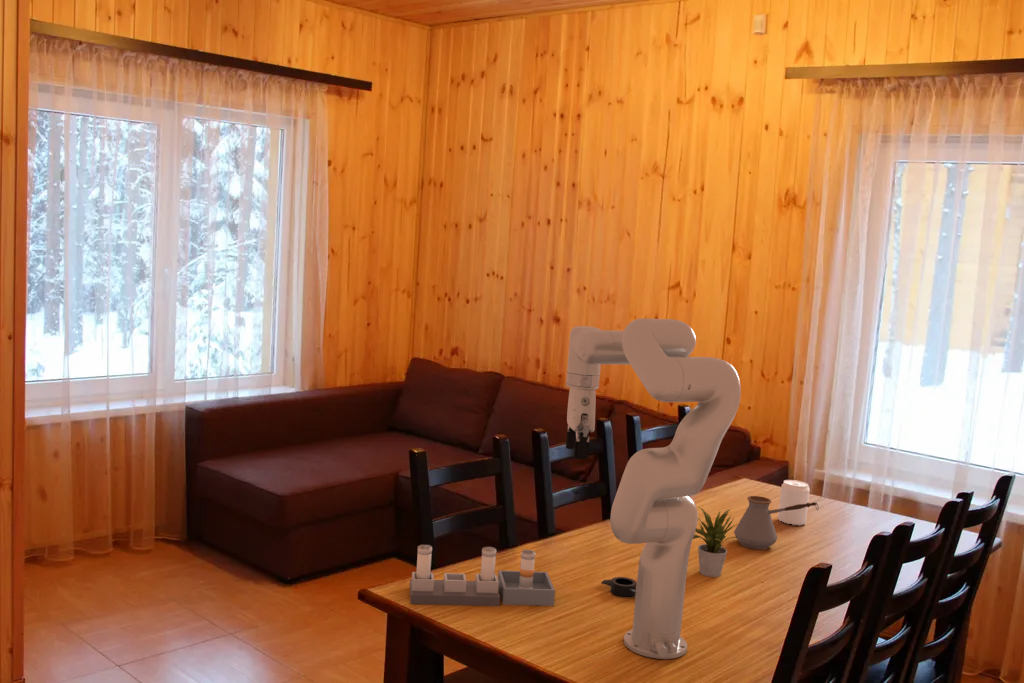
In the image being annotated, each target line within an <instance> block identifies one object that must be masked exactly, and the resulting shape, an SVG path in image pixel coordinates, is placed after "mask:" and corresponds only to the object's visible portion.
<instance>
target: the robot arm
mask: <svg viewBox="0 0 1024 683" xmlns="http://www.w3.org/2000/svg"><path fill="white" fill-rule="evenodd" d="M568 342H569V344H568V358H567V369H566V379H565V380H566V381H565V386H566V387H567V388H569V391H568V402H567V412H566V415H567V416H566V423H567V432H566V439H565V440H566V442H565V449H567V450H573V459H574V460H583V461H584V460H585V461H586V460H588V458H589V449H590V433H593V432H595V427H596V426H595V425H596V399H597V398H596V394H597V393H596V390H599V389H600V388H599V387H600V377H601V365H625V366H627V365H630V367H631V369H632V370H633V371H634V373H635V374H636V376H637V377H638V379H639V380H640V382H641V384H642V385H643V387H644V388H645V390H646V391H647V392H648V394H649V395H650V397H652V398H653V399H654V400H657V401H659V402H662V403H694V402H695V403H697V404H696V406H695V407H693V408H692V409H691V410H690V411H689V412H688V413H686V415H685V416H684V417H683V418H682V419H681V421H680V423H679V424H678V426H677V428H676V430H675V433H674V437H673V439H672V441H671V443H670V444H669V445H667V446H665V447H648V448H644V449H640V450H638V451H637V452H635V453H634V454H633V455H632V456H631V457H630V458H629V460H628V461H627V463H626V465H625V469H624V471H623V474H622V476H621V478H620V479H621V480H620V482H619V485H618V487H617V491H616V493H615V495H614V496H615V497H614V500H613V503H612V506H611V510H610V519H609V520H610V522H609V523H610V528H611V532H612V534H613V535H614V538H616V539H617V540H618V541H620V542H621V543H624V544H629V545H630V544H631V545H635V544H638V545H639V544H644V546H643V549H642V550H641V553H640V556H639V560H638V567H637V568H638V569H637V579H636V580H637V581H636V582H637V586H636V595H635V600H634V601H635V602H634V612H633V621H632V622H633V623H632V629H630V630H628V631H627V632H626V633H625V634H624V636H623V644H624V646H626V648H628V649H629V650H630V651H631V652H633V653H635V654H637V655H641V656H643V657H647V658H651V659H658V660H671V659H677V658H679V657H682V656H684V655H685V654H686V653H687V652H688V643H687V641H686V640H685V639H684V638H683V637H682V636H681V631H682V621H683V620H682V619H683V612H684V603H685V594H686V585H687V584H686V583H687V575H688V565H689V558H690V557H689V556H690V551H691V548H692V543H693V540H694V539H693V537H694V535H695V534H696V532H695V530H696V528H697V526H698V521H699V519H698V518H699V515H698V514H699V513H698V507H697V506H696V503H695V502H694V500H693V499H692V498H691V497H690V496H694V495H697V494H698V493H699V492H700V491H701V490H702V489H703V487H704V485H705V483H706V481H707V479H708V476H709V473H710V472H711V469H712V466H713V465H714V461H715V458H716V457H717V454H718V451H719V449H720V445H721V443H722V441H723V438H724V437H725V435H726V433H727V431H728V430H729V428H730V426H731V425H732V423H733V421H734V420H735V418H736V414H737V412H738V409H739V408H740V407H739V406H740V402H741V394H742V393H741V392H742V390H741V381H740V377H739V374H738V372H737V370H736V369H735V367H734V366H733V365H732V364H731V363H730V362H728V361H726V360H723V359H722V358H717V357H713V356H712V357H710V356H690V355H691V354H692V353H693V351H694V350H695V348H696V345H697V337H696V333H695V332H694V330H693V328H692V327H691V326H690V325H689V324H687V323H686V322H684V321H683V320H679V319H671V318H637V319H634V320H632V321H630V322H629V323H628V324H627V325H626V326H625V328H624V330H611V329H609V330H608V329H606V330H602V329H601V328H598V327H595V326H586V325H585V326H584V325H579V326H578V325H577V326H574V327H572V329H571V330H570V333H569V341H568ZM589 432H590V433H589Z"/></svg>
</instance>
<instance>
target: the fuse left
mask: <svg viewBox="0 0 1024 683" xmlns="http://www.w3.org/2000/svg"><path fill="white" fill-rule="evenodd" d="M432 553H433V546H432V545H430V544H420V545H418V546H417V558H416V559H417V560H416V571H415V572H416V579H430V572H431V567H432V555H433V554H432Z"/></svg>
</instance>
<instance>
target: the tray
mask: <svg viewBox="0 0 1024 683" xmlns="http://www.w3.org/2000/svg"><path fill="white" fill-rule="evenodd" d="M497 578H498V581H499V585H498V592H499V596H500V599H501V603H502V605H510V606H541V607H542V606H547V607H548V606H549V607H550V606H551V607H552V606H553V607H554V606H555V596H556V595H555V594H556V589H555V587H554V584H553V582H552V580H551V578H550V576H549V573H548V571H536V570H534V576H533V585H532V586H533V588H532V589H525V588H519V578H520V570H500V569H498V571H497Z"/></svg>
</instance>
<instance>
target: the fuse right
mask: <svg viewBox="0 0 1024 683" xmlns="http://www.w3.org/2000/svg"><path fill="white" fill-rule="evenodd" d="M496 556H497V549H496V548H495V547H492V546H484V547H482V548H481V561H480V562H481V563H480V574H481V575H480V581H494V574H495V572H496V571H495V569H496V559H497V558H496Z"/></svg>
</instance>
